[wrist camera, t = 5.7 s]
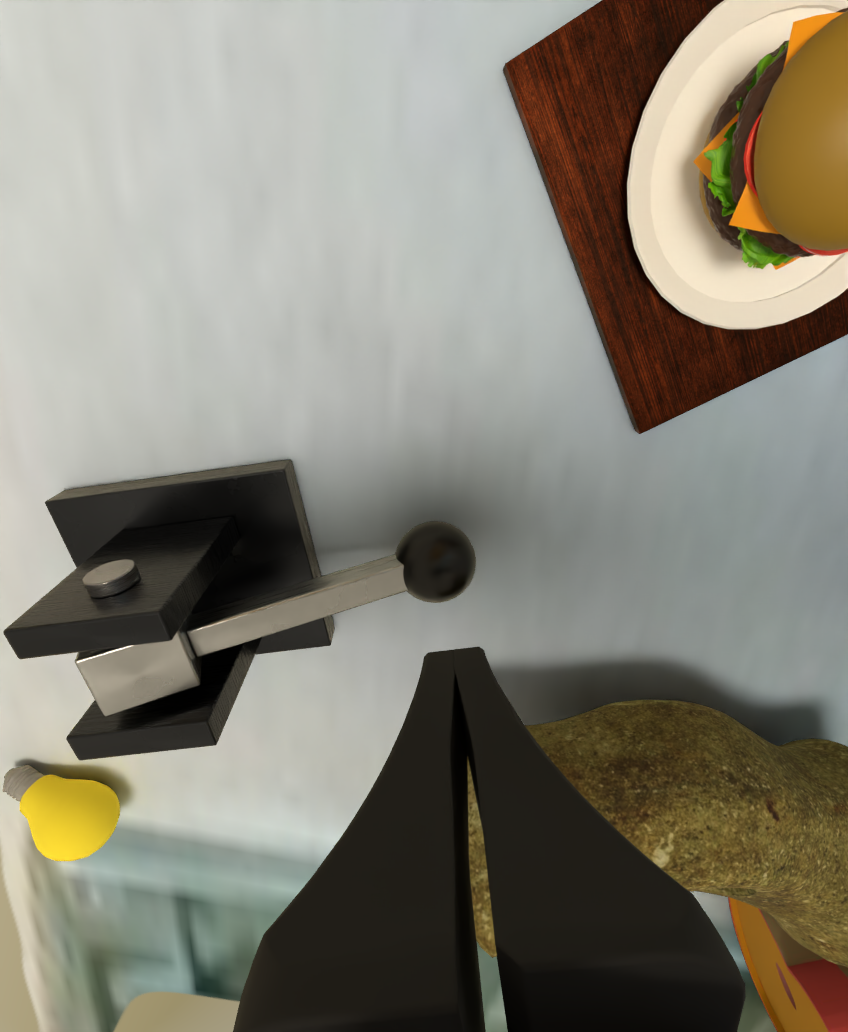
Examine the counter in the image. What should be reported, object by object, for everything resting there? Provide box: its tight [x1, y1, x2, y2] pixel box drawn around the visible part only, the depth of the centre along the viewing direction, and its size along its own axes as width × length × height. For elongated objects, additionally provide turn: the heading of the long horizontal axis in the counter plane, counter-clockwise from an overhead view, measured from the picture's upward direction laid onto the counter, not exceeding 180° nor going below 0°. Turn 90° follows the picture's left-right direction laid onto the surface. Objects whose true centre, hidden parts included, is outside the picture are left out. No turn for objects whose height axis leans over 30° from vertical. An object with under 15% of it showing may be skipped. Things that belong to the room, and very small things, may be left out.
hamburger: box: [503, 0, 848, 434], centre depth 13 cm, size 12×12×6 cm
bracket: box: [4, 460, 335, 760], centre depth 18 cm, size 9×8×7 cm
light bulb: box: [3, 765, 120, 861], centre depth 25 cm, size 3×6×4 cm
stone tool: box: [467, 700, 848, 967], centre depth 22 cm, size 20×9×10 cm
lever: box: [75, 521, 476, 717], centre depth 18 cm, size 13×3×3 cm, turn 98°
